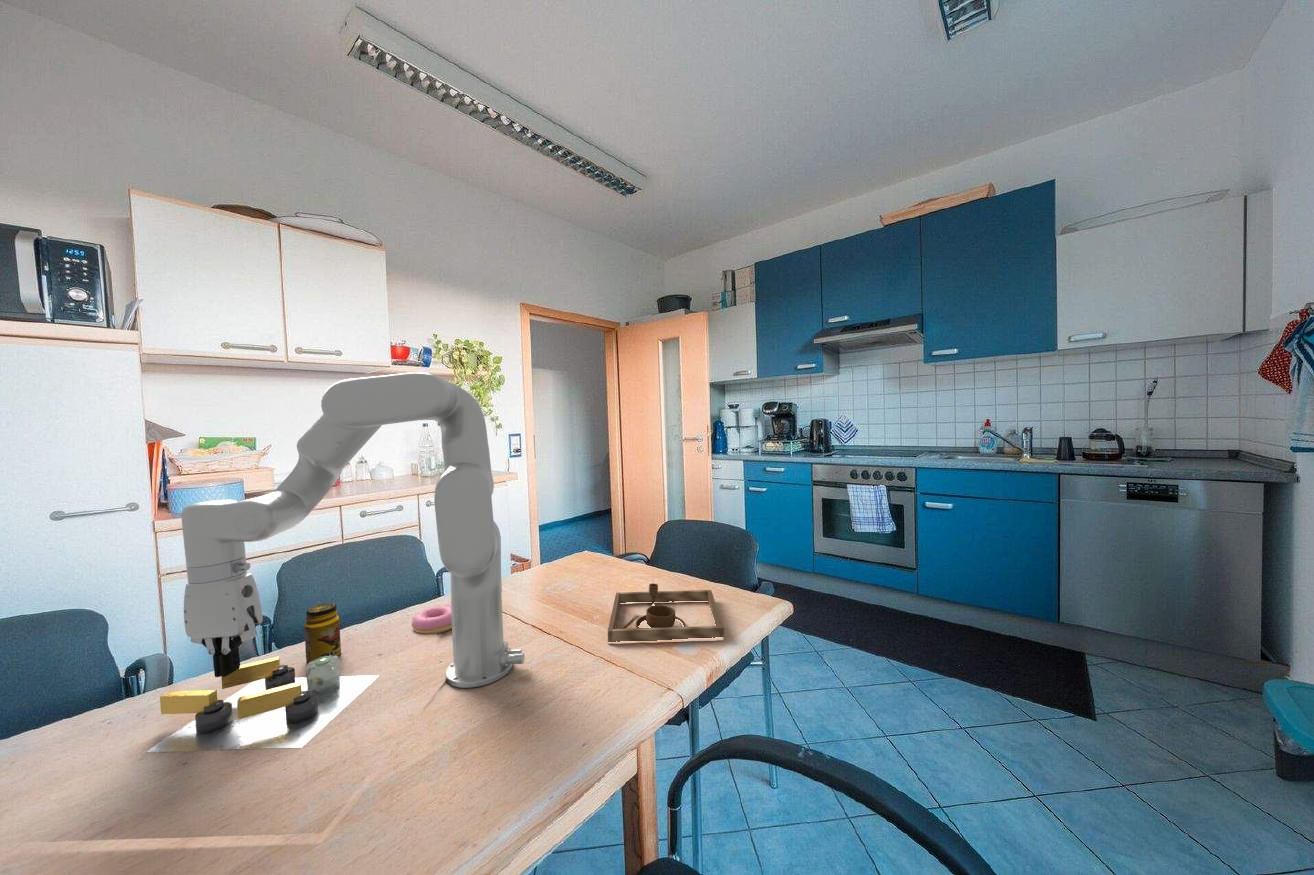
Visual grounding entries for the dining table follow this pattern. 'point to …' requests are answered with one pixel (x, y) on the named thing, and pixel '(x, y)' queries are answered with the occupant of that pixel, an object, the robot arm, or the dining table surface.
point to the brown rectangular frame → (666, 632)
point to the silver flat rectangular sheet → (275, 715)
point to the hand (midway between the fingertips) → (227, 672)
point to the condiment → (322, 632)
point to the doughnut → (433, 620)
